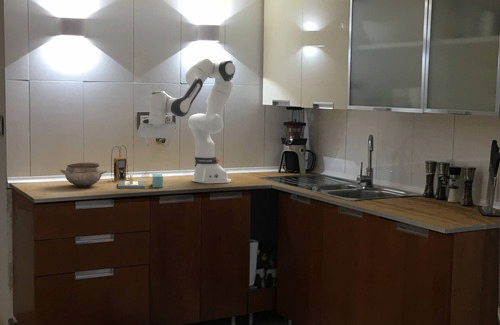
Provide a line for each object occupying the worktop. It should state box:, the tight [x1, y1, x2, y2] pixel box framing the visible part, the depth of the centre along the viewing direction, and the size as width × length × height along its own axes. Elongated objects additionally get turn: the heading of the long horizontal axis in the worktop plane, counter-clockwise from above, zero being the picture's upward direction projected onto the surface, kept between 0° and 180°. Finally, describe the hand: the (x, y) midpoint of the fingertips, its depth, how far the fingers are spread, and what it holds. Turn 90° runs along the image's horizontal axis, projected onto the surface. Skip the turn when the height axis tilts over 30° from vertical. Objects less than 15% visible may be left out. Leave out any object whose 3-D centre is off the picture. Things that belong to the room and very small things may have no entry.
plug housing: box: [151, 173, 164, 188], centre depth 370 cm, size 5×11×6 cm, turn 10°
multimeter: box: [110, 145, 130, 183], centre depth 384 cm, size 15×10×20 cm
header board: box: [117, 174, 146, 190], centre depth 368 cm, size 14×18×6 cm
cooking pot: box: [59, 161, 108, 189], centre depth 361 cm, size 25×19×12 cm
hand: (156, 146), depth 369 cm, fingers open, 8 cm apart
